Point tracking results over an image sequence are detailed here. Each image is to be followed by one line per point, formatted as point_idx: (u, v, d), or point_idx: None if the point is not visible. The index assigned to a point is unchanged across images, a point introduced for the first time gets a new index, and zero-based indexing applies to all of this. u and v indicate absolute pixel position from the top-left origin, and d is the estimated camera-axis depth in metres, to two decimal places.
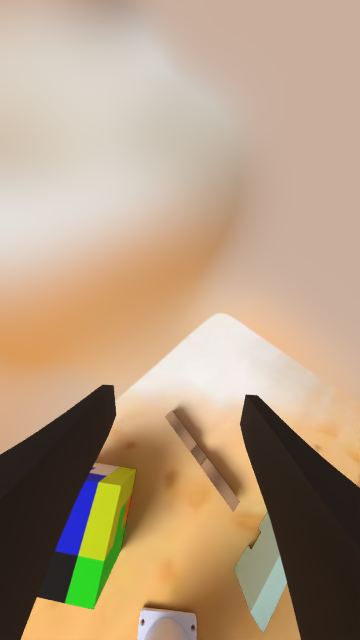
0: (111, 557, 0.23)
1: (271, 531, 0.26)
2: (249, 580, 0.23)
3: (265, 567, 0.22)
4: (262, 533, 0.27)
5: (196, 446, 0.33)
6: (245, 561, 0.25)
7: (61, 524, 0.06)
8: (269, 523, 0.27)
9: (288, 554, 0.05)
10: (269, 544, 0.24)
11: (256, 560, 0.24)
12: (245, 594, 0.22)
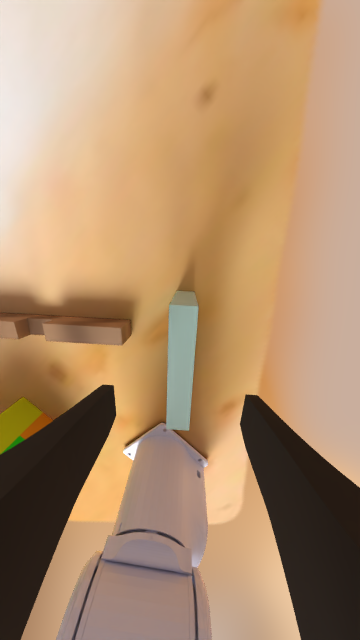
0: None
1: None
2: None
3: None
4: None
5: (31, 321, 0.17)
6: None
7: (61, 524, 0.06)
8: None
9: (288, 554, 0.05)
10: None
11: None
12: None
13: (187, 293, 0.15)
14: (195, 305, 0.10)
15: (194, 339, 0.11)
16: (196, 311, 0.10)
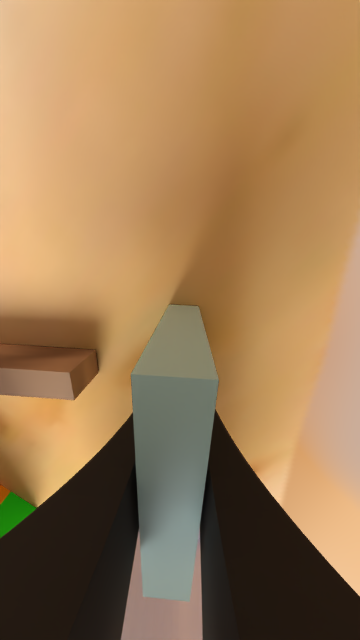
0: None
1: None
2: None
3: None
4: None
5: None
6: None
7: (137, 532, 0.06)
8: None
9: (202, 545, 0.05)
10: None
11: None
12: None
13: (186, 312, 0.08)
14: (209, 369, 0.04)
15: (204, 456, 0.04)
16: (212, 393, 0.03)
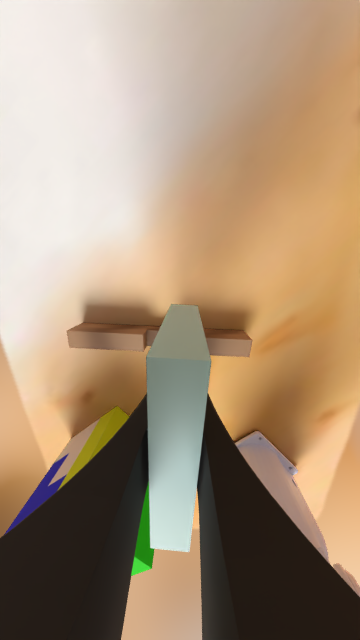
0: (147, 498, 0.18)
1: None
2: None
3: None
4: None
5: (150, 333, 0.17)
6: None
7: (137, 532, 0.06)
8: None
9: (202, 545, 0.05)
10: None
11: None
12: None
13: (187, 310, 0.10)
14: (204, 354, 0.05)
15: (201, 421, 0.05)
16: (206, 371, 0.05)
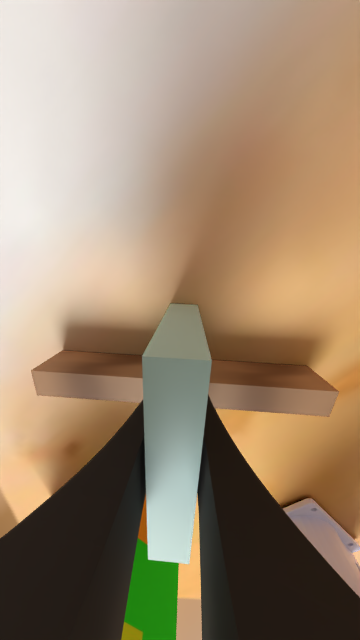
0: (158, 622, 0.12)
1: None
2: None
3: None
4: None
5: None
6: None
7: (137, 532, 0.06)
8: None
9: (202, 545, 0.05)
10: None
11: None
12: None
13: (186, 309, 0.09)
14: (204, 353, 0.05)
15: (201, 426, 0.05)
16: (206, 371, 0.04)
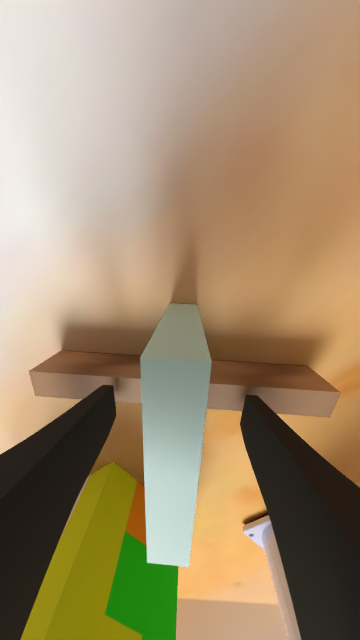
0: (158, 625, 0.12)
1: None
2: None
3: None
4: None
5: None
6: None
7: (61, 524, 0.06)
8: None
9: (288, 554, 0.05)
10: None
11: None
12: None
13: (186, 309, 0.09)
14: (204, 354, 0.04)
15: (200, 428, 0.05)
16: (206, 373, 0.04)
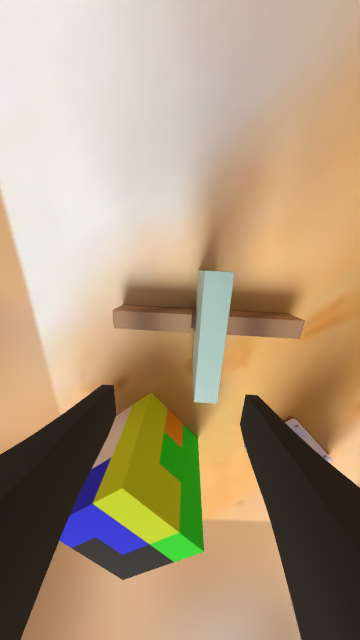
0: (189, 483, 0.17)
1: (198, 298, 0.14)
2: (194, 366, 0.15)
3: (197, 347, 0.13)
4: (196, 308, 0.16)
5: (195, 314, 0.17)
6: (194, 346, 0.18)
7: (61, 524, 0.06)
8: (198, 290, 0.15)
9: (288, 554, 0.05)
10: (198, 316, 0.14)
11: (195, 342, 0.15)
12: (193, 381, 0.15)
13: None
14: None
15: (228, 307, 0.11)
16: (232, 277, 0.10)
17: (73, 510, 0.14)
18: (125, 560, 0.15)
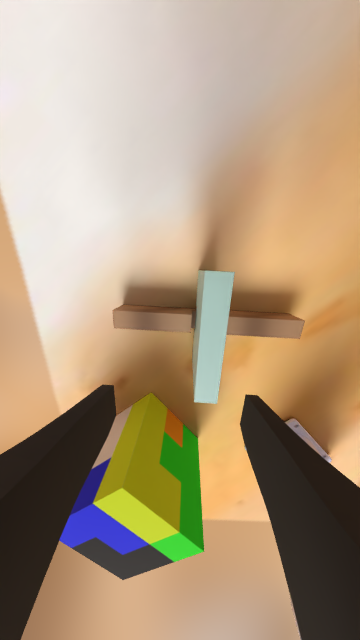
0: (189, 483, 0.17)
1: (198, 298, 0.14)
2: (194, 366, 0.15)
3: (197, 347, 0.13)
4: (196, 308, 0.16)
5: (195, 314, 0.17)
6: (194, 346, 0.18)
7: (61, 524, 0.06)
8: (198, 290, 0.15)
9: (288, 554, 0.05)
10: (198, 316, 0.14)
11: (195, 342, 0.15)
12: (193, 381, 0.15)
13: None
14: None
15: (228, 307, 0.11)
16: (232, 277, 0.10)
17: (73, 510, 0.14)
18: (125, 561, 0.15)
